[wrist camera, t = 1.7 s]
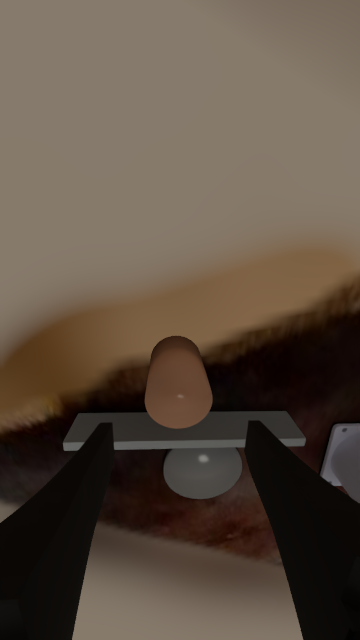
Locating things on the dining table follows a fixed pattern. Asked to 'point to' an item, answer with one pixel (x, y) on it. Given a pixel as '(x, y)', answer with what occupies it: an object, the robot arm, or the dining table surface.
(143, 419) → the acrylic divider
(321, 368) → the dining table surface
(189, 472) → the slate coaster
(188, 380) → the terracotta cylinder
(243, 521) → the dining table surface
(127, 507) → the dining table surface
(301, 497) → the robot arm
